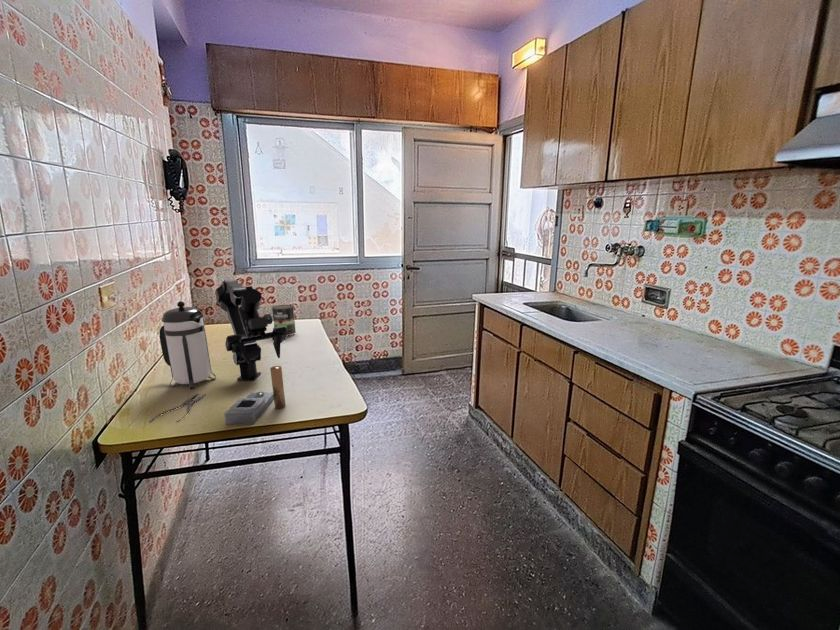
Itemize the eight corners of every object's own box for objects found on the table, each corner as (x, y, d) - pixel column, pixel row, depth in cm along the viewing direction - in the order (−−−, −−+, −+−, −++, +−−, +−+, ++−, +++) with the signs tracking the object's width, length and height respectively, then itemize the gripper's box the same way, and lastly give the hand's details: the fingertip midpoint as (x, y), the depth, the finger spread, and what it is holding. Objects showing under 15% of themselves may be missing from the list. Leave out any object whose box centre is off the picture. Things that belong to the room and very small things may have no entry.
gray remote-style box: (251, 397, 138) (250, 387, 137) (275, 397, 138) (273, 387, 137) (226, 424, 121) (224, 413, 120) (253, 424, 121) (251, 412, 120)
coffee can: (292, 336, 206) (289, 308, 203) (271, 337, 207) (268, 309, 203) (299, 330, 216) (296, 304, 213) (279, 331, 217) (276, 304, 213)
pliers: (145, 423, 122) (176, 394, 141) (146, 426, 122) (176, 397, 141) (181, 421, 123) (206, 392, 142) (181, 424, 123) (207, 395, 142)
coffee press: (218, 371, 163) (207, 295, 155) (214, 386, 148) (201, 303, 141) (167, 378, 157) (153, 299, 150) (157, 394, 142) (141, 308, 135)
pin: (276, 404, 133) (272, 365, 130) (287, 404, 133) (282, 365, 130) (273, 409, 130) (268, 369, 127) (283, 409, 130) (279, 369, 127)
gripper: (222, 311, 128) (236, 355, 123) (283, 302, 139) (298, 342, 133) (220, 329, 136) (233, 372, 131) (277, 320, 147) (291, 358, 142)
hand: (264, 360), depth 134 cm, fingers open, 9 cm apart
